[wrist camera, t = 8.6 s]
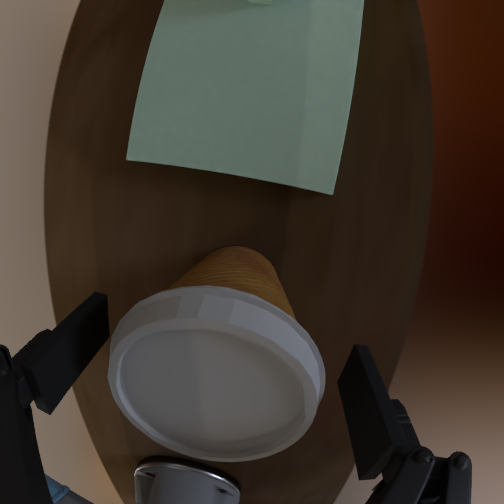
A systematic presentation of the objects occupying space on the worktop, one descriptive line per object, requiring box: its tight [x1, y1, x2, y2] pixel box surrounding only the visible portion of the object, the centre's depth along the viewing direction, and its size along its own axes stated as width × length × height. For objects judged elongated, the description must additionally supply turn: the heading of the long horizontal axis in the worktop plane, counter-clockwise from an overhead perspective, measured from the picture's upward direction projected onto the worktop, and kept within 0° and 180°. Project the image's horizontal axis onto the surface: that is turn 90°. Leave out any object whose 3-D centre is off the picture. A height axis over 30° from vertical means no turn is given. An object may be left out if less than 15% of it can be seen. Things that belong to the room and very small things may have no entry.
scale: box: [126, 0, 364, 195], centre depth 15 cm, size 18×14×3 cm
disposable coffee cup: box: [108, 246, 325, 462], centre depth 16 cm, size 10×10×12 cm
